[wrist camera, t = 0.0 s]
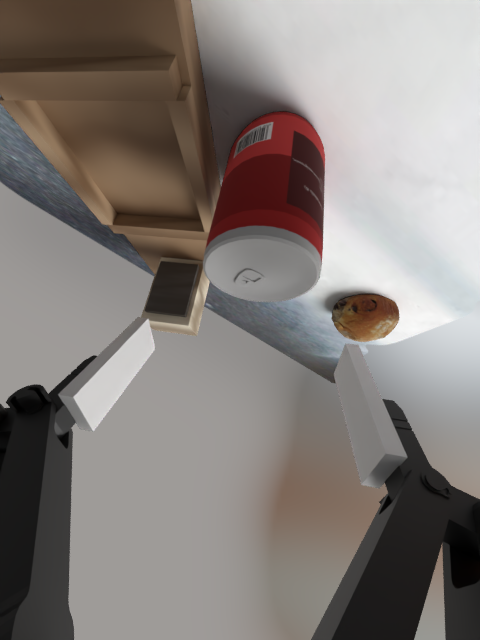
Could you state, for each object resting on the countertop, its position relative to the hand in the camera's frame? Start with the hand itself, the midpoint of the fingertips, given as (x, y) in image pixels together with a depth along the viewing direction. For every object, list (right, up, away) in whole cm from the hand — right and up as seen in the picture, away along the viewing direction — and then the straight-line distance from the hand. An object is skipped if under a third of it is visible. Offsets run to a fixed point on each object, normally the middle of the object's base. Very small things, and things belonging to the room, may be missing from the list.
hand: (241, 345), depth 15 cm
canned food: (+3, +15, +4) cm, 16 cm away
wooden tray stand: (-8, +15, +8) cm, 19 cm away
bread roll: (+21, +4, +24) cm, 32 cm away
